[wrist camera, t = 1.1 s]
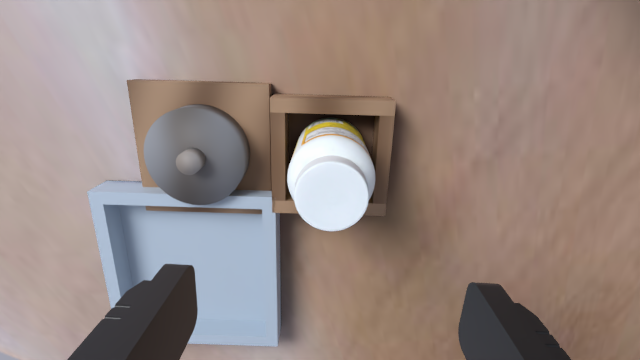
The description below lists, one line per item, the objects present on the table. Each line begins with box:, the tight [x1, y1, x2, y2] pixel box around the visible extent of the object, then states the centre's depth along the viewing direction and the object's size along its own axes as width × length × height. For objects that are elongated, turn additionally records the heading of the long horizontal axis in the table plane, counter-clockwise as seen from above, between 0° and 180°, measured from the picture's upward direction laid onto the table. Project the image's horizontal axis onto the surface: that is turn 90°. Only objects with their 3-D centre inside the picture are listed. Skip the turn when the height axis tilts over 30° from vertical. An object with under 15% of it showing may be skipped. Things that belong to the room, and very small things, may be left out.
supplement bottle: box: [287, 117, 375, 231], centre depth 23 cm, size 5×5×10 cm
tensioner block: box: [127, 79, 396, 216], centre depth 26 cm, size 19×10×4 cm, turn 88°
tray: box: [87, 181, 281, 346], centre depth 30 cm, size 14×14×2 cm
